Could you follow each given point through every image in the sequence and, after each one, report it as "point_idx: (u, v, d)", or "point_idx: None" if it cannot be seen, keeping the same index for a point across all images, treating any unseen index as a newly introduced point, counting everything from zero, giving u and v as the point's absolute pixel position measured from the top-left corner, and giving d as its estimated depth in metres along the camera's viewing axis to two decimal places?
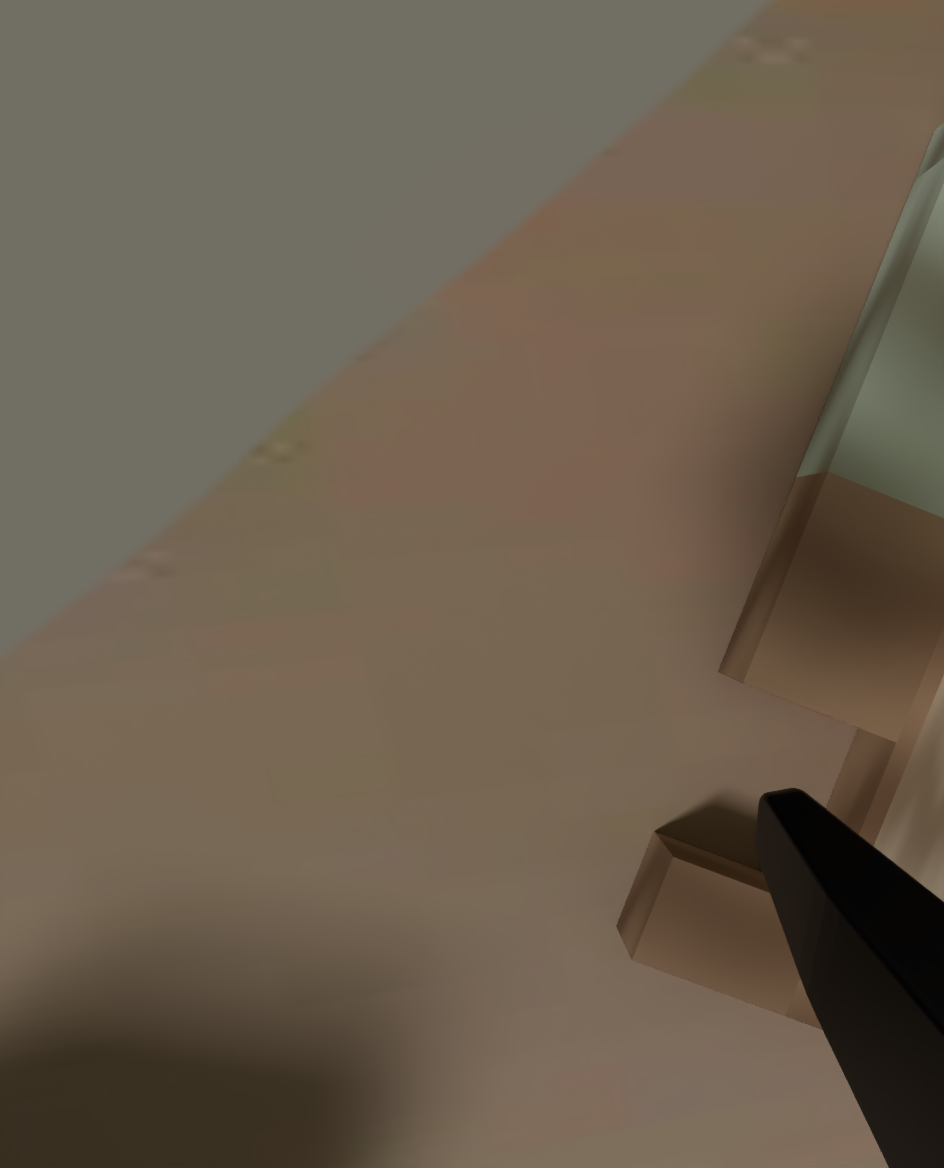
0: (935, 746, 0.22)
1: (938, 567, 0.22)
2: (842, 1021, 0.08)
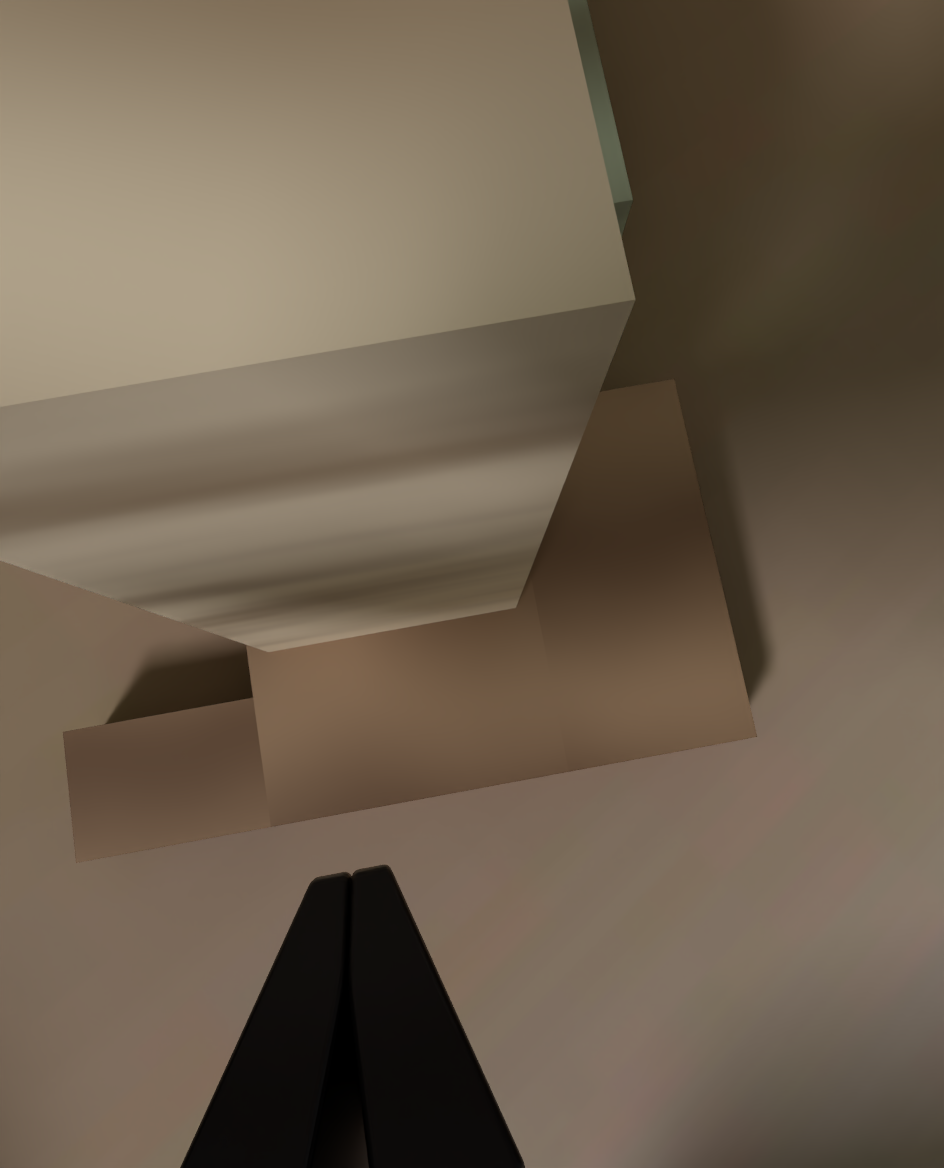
0: None
1: None
2: None
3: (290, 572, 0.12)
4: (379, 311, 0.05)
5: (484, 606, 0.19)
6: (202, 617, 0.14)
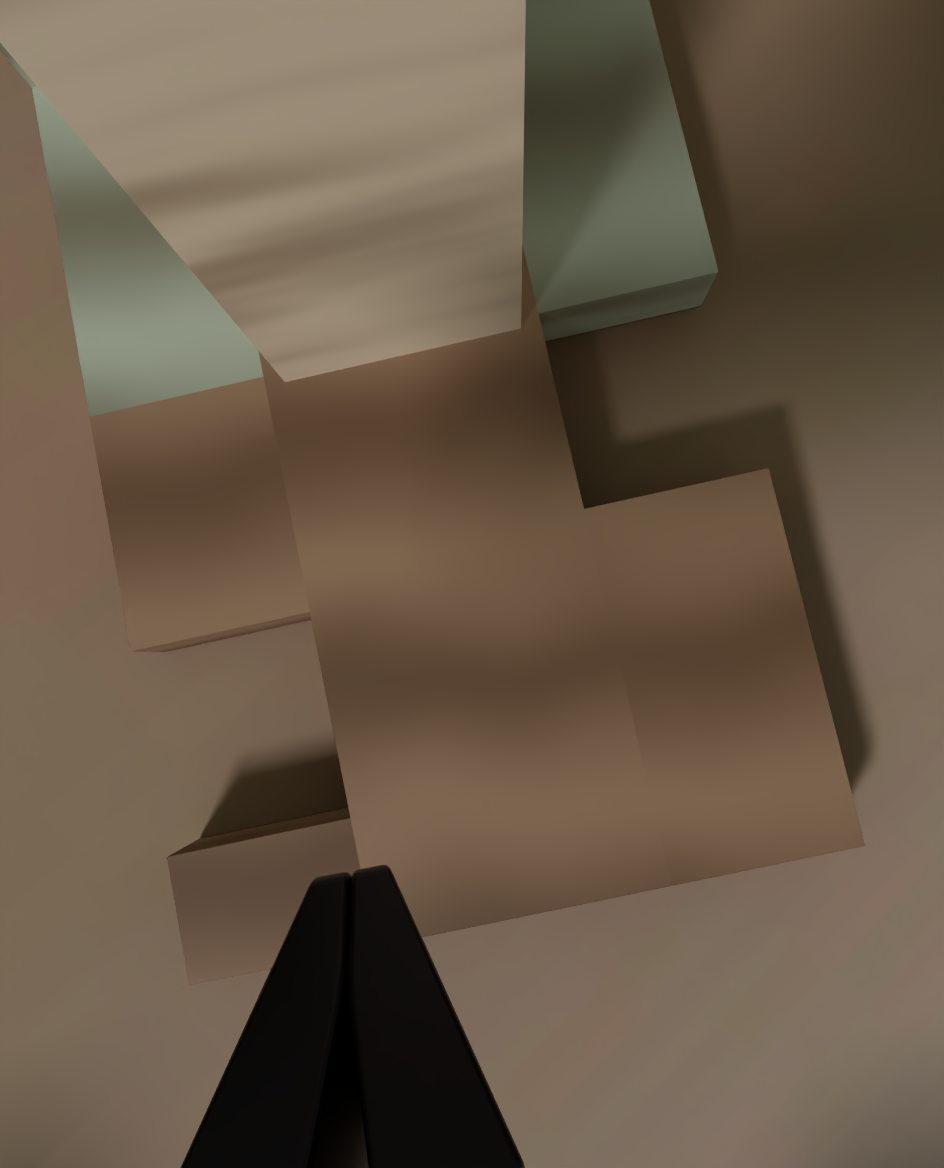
0: None
1: (242, 431, 0.21)
2: None
3: (282, 158, 0.12)
4: None
5: (488, 314, 0.20)
6: (210, 262, 0.15)
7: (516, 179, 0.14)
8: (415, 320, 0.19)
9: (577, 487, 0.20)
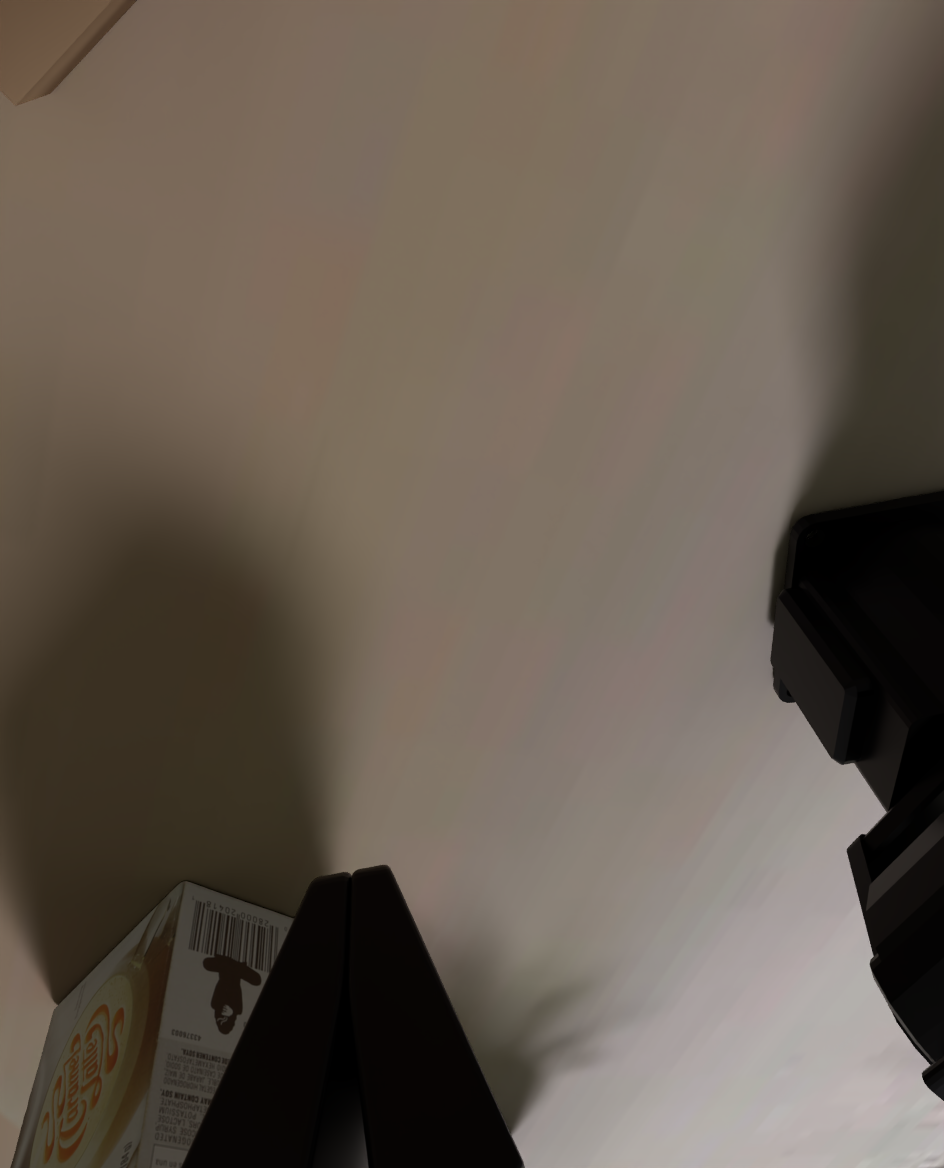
0: None
1: None
2: None
3: None
4: None
5: None
6: None
7: None
8: None
9: None
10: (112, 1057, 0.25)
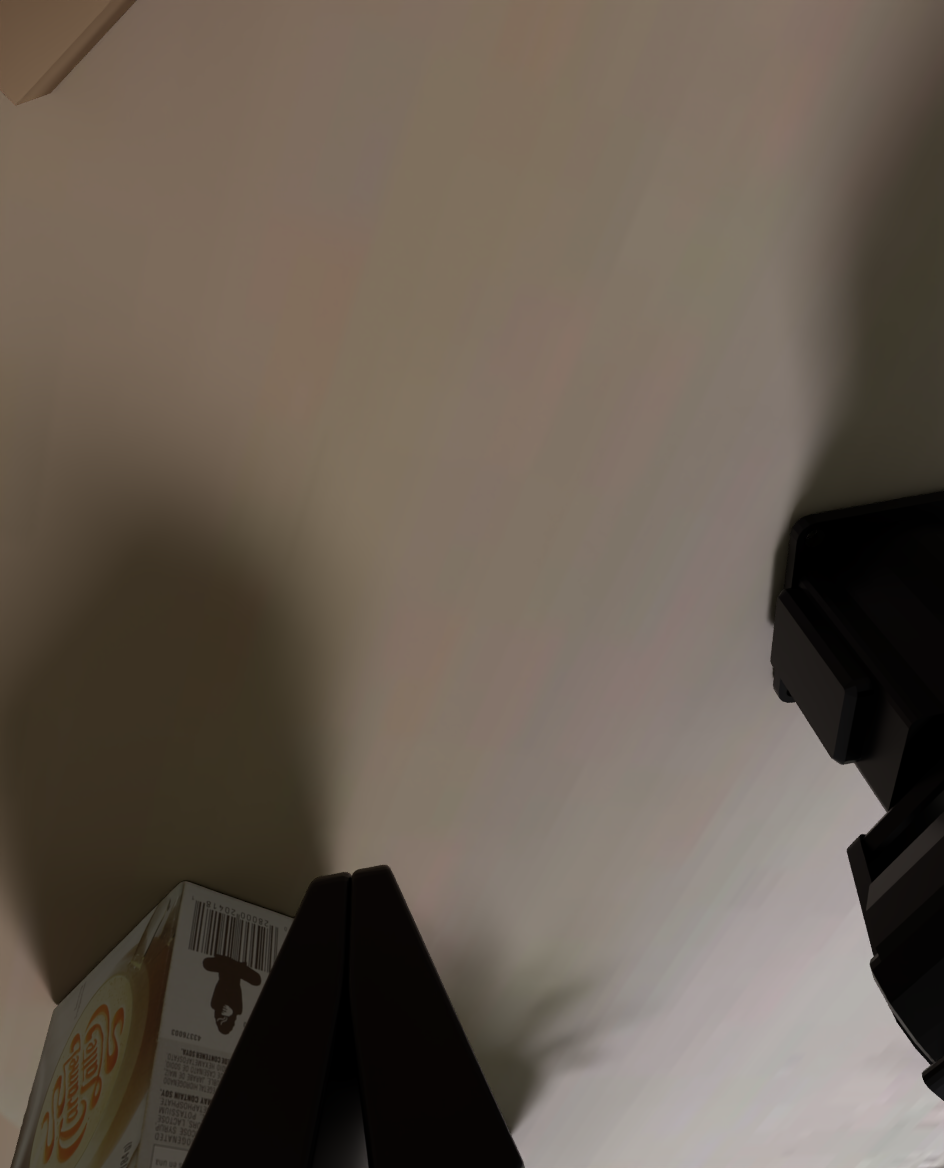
0: None
1: None
2: None
3: None
4: None
5: None
6: None
7: None
8: None
9: None
10: (112, 1057, 0.25)
